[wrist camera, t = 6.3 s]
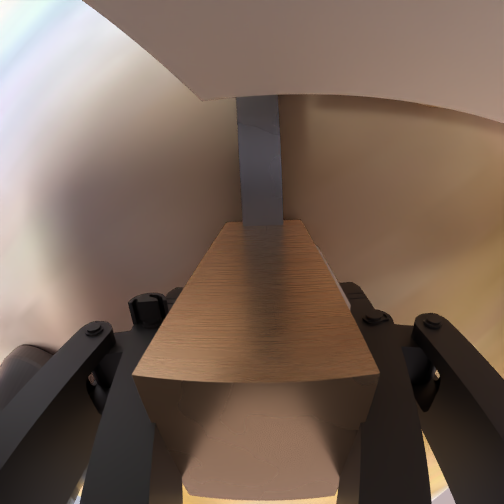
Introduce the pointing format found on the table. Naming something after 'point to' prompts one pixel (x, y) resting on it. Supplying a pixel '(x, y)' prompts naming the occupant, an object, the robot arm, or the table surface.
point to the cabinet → (327, 48)
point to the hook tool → (259, 349)
